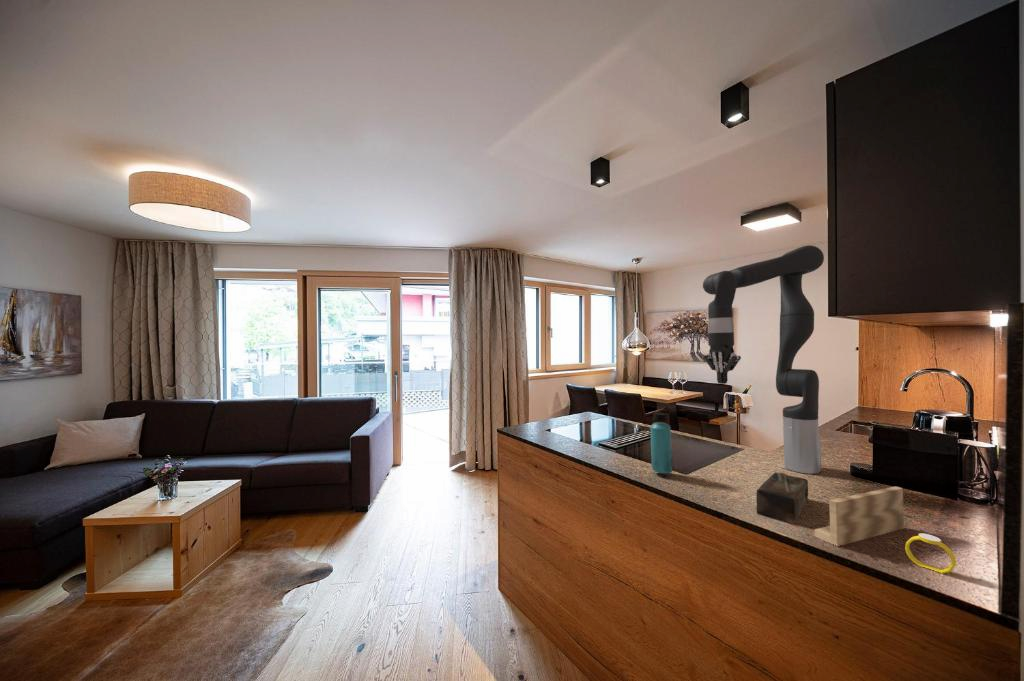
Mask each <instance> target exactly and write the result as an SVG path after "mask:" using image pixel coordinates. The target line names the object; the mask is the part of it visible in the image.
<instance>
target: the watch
mask: <svg viewBox="0 0 1024 681" xmlns="http://www.w3.org/2000/svg"><path fill="white" fill-rule="evenodd" d="M914 541H922V542H924V543H927V544H929V545H934V546H938V547H940V548H942V549H943V550H944V552H946V553H947V555H948V556H949V558H950V562H951V564H950V565H949V567H944V568H939V567H935V566H932V565H930V564H927V563H923V562H921V561H920V560H918V558H916V557H915V556H914V554H913V552H912V551H911V549H910V546H911V545H910V544H911V543H912V542H914ZM904 550H905V552H906V555H907V557H908V558H909V560H910V561H912V563H914V564H915V565H916V566H917V565H918V566H917V567H920V566H921V568H923V567H925V568H924V569H926V568H929V569H931V570H930V571H932V570H934V571H933V572H935V571H937V572H936V573H938V572H939V573H938V574H940V573H942V574H941V575H943V574H949V573H951V572H952V571H953V569H954V568H955V566H956V564H957V561H956V556H955V553H953V551H952V550H951V549H950V547H948V545H946V544H945V543H943V542H942V540H941V538H939V537H937V536H936V535H935V536H934V535H931V534H928V533H925V532H924V533H921V532H919V533H918V535H915V536H914V535H913V536H912V537H910V538H909V539H908V540H907V541H906V542H905V547H904ZM929 569H928V570H929Z"/></svg>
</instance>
